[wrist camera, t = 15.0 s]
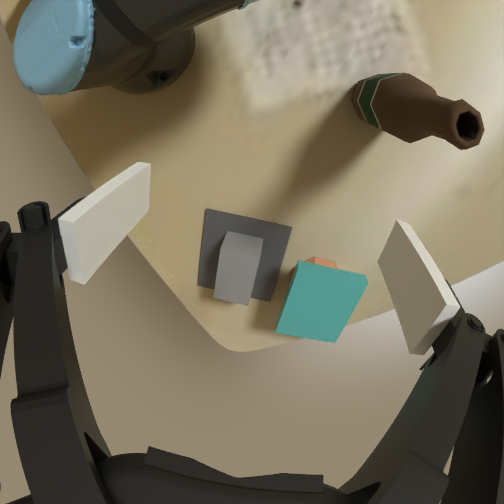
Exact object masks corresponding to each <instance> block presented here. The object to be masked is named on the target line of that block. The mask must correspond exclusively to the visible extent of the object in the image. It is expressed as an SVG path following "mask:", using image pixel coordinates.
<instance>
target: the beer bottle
mask: <svg viewBox="0 0 504 504" xmlns="http://www.w3.org/2000/svg"><path fill="white" fill-rule="evenodd" d="M351 100H352V102H353V104H354V106H355V108H356V111H357V113H358V115H359V117H360V118H361V119H362V120H364V121H366V122H368V123H370V124H372V125H374V126H376V127H377V128H379V129H381V130H383V131H385V132H387V133H389V134H391V135H393V136H395V137H397V138H399V139H401V140H403V141H406V142H408V143H412V142H415V141H418V140H421V139H423V138H426V137H429V136H431V135H433V136H436V137H439V138H442V139H445V140H446V141H448V142H449V143H451V144H453V145H454V146H456V147H457V148H459V149H460V150H463V149H468V148H471V147H474V146H476V145H479V142H480V140H481V137H482V135H483V132H484V126H483V122H482V118H481V114H480V112H478V111H477V110H476V109H475V108H473V107H472V106H471V105H469V104H468V103H467V102H465V101H464V100H463V99H461V100H457V101H452V100H449V99H446V98H443V97H440V96H437V94H436V91H435V90H434V89H433V88H432V87H431V86H429V85H428V84H426V83H424V82H423V81H421V80H419V79H418V78H416V77H414V76H412V75H411V74H407V73H390V74H378V75H375V76H372V77H369V78H366V79H363V80H361V81H358V83H357V85H356V88H355V91H354V94H353V96H352V99H351Z"/></svg>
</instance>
